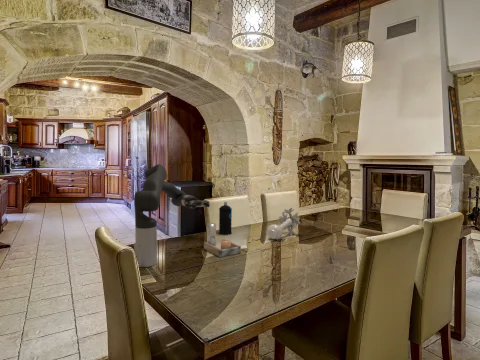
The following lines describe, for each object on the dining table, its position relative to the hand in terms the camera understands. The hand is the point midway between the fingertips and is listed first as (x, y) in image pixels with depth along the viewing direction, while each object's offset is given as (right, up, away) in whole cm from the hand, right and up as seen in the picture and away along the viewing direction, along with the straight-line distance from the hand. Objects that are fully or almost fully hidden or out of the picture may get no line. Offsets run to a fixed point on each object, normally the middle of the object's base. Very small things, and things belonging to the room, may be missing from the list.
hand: (202, 206), depth 182 cm
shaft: (+6, -21, -7) cm, 23 cm away
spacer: (+14, -22, -19) cm, 33 cm away
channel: (+12, -22, -16) cm, 30 cm away
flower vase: (+48, -20, +14) cm, 54 cm away
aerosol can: (+12, -19, +20) cm, 30 cm away
